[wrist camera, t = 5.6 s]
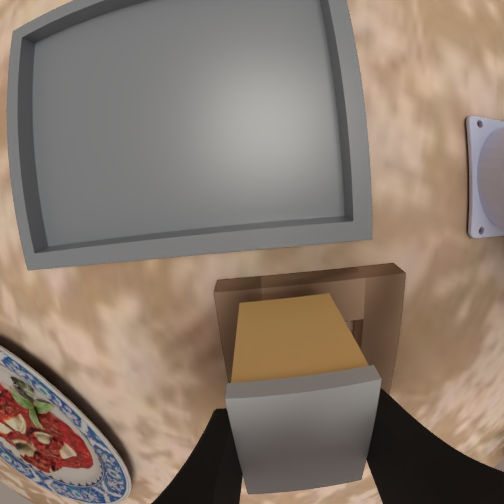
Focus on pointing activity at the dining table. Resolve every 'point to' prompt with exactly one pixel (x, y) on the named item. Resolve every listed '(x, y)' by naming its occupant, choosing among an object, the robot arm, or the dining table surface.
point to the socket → (344, 296)
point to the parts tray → (186, 129)
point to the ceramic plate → (55, 439)
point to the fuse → (299, 396)
